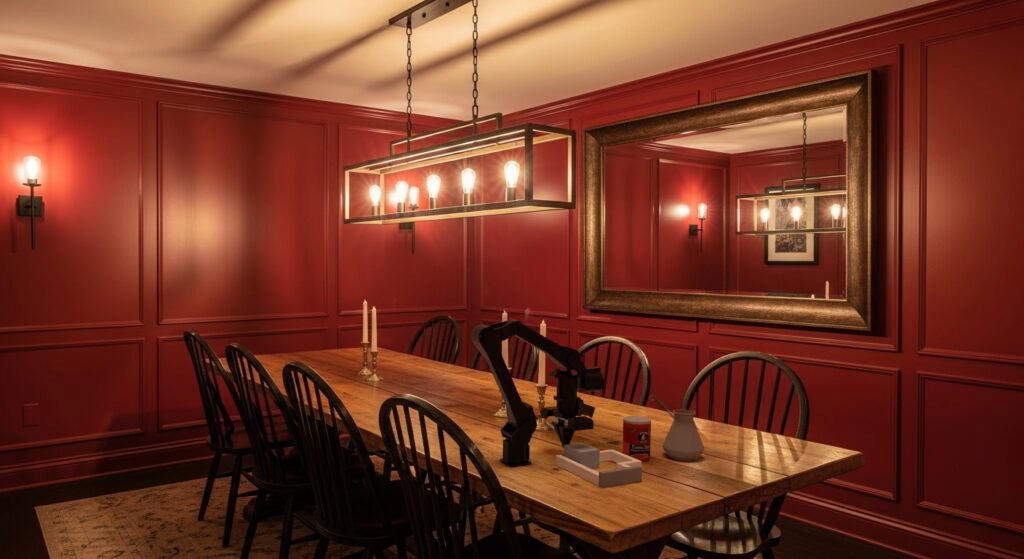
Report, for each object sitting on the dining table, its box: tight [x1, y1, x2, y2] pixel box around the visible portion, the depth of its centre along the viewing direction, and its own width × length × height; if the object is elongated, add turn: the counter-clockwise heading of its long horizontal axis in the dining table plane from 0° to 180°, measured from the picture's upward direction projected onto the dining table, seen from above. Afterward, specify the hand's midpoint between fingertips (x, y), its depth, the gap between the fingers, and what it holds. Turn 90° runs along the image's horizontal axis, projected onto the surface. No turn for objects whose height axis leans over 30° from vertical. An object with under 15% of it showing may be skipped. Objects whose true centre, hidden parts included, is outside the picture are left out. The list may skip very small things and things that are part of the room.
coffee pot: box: [649, 394, 705, 462], centre depth 205 cm, size 21×12×15 cm, turn 24°
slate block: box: [563, 442, 601, 470], centre depth 191 cm, size 6×8×5 cm
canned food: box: [622, 415, 652, 462], centre depth 199 cm, size 8×8×11 cm
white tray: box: [555, 448, 643, 489], centre depth 186 cm, size 18×22×4 cm
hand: (565, 448), depth 198 cm, fingers closed
